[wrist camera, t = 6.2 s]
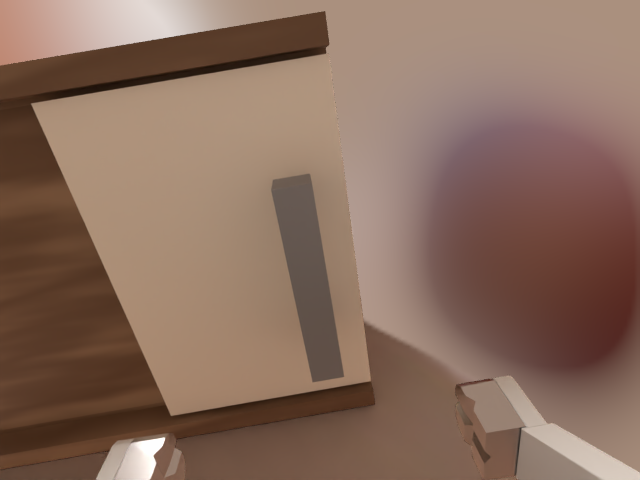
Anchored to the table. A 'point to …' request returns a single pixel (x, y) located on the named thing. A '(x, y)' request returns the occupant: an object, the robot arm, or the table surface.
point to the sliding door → (222, 228)
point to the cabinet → (88, 270)
